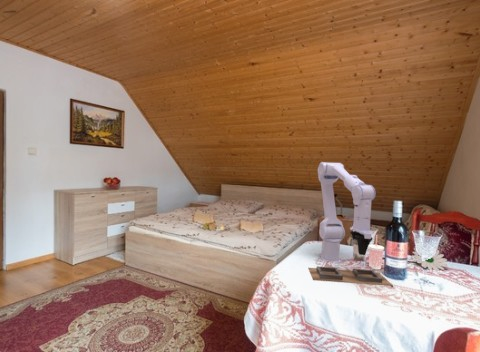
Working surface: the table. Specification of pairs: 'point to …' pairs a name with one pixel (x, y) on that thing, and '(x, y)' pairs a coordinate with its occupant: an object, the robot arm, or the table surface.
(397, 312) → the table surface
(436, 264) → the flower
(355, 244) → the metal cylinder
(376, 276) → the dock board
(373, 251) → the beverage cup
